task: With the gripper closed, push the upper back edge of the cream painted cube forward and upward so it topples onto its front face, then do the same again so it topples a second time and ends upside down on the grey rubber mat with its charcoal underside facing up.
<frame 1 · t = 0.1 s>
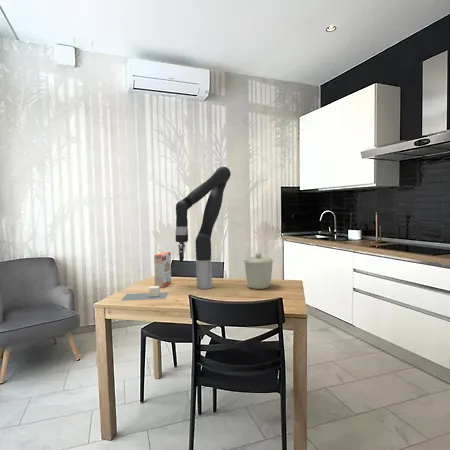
hand: (181, 260, 200), 17 cm above the table, tool pointing down, fingers open, 8 cm apart
mat: (145, 296, 184), on the table
canister: (259, 287, 199), on the table
cube: (154, 295, 184), resting on mat
cracker box: (163, 286, 209), on the table
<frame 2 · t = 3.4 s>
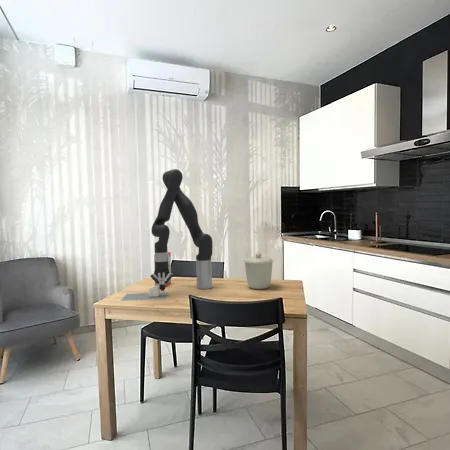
hand: (162, 290, 185), 3 cm above the table, tool pointing down, fingers closed
cube: (154, 295, 184), resting on mat, touching gripper
everything else where it was.
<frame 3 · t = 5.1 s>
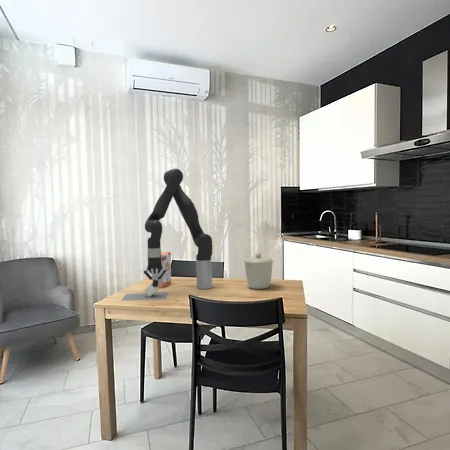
hand: (155, 286, 184), 5 cm above the table, tool pointing down, fingers closed
cube: (153, 293, 184), point 2 cm above the table, tilted 35°, touching gripper, mat
everything else where it was.
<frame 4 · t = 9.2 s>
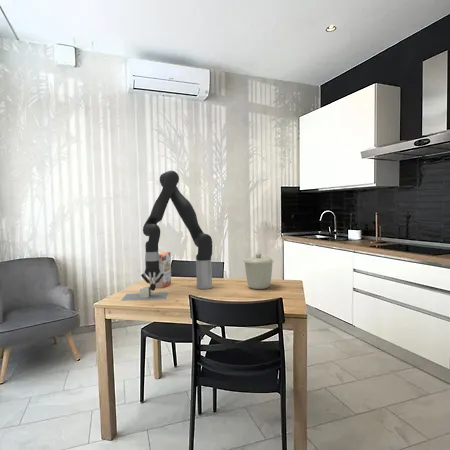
hand: (153, 290, 184), 3 cm above the table, tool pointing down, fingers closed
cube: (149, 291, 184), point 3 cm above the table, tilted 90°, touching gripper, mat
everything else where it was.
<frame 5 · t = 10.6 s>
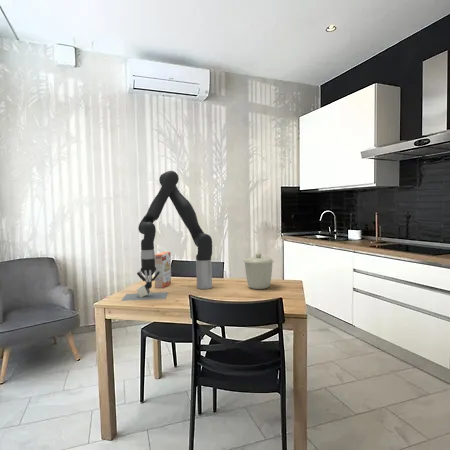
hand: (149, 288, 184), 5 cm above the table, tool pointing down, fingers closed
cube: (147, 288, 184), point 5 cm above the table, tilted 112°, touching gripper, mat
everything else where it was.
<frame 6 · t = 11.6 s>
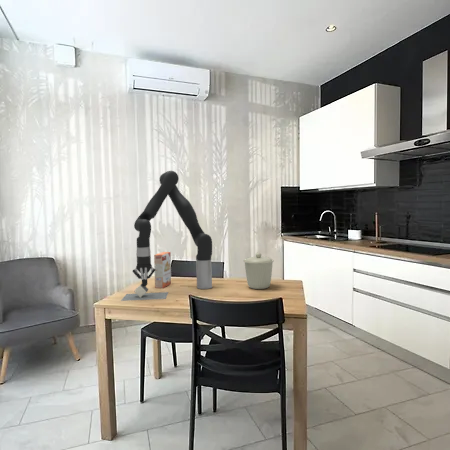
hand: (144, 285, 184), 6 cm above the table, tool pointing down, fingers closed
cube: (144, 287, 184), point 5 cm above the table, tilted 130°, touching gripper, mat
everything else where it was.
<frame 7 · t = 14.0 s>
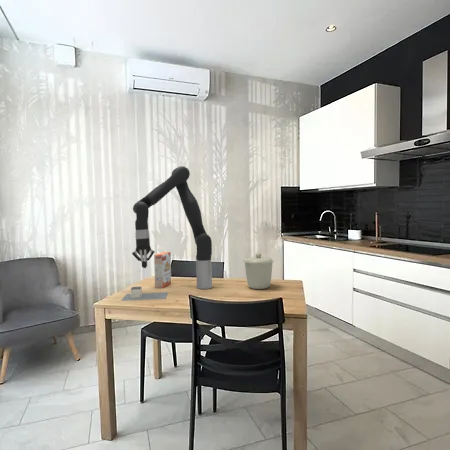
hand: (144, 267, 186), 16 cm above the table, tool pointing down, fingers closed
cube: (136, 287, 183), point 5 cm above the table, tilted 180°, touching mat
everything else where it was.
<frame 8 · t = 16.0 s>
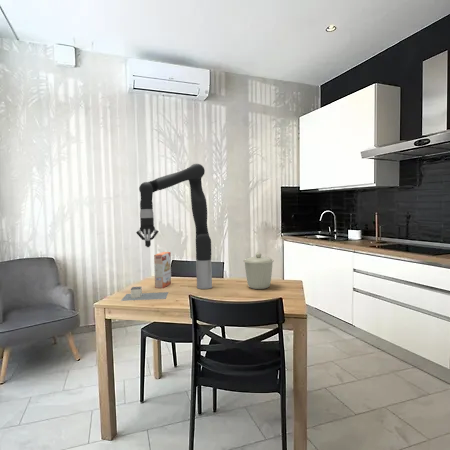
hand: (148, 247, 191), 27 cm above the table, tool pointing down, fingers closed
nothing on the table moved.
at the end: cube tilted 180°; cube inside the target area (1.5 cm from its centre), point 5.3 cm above the table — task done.
